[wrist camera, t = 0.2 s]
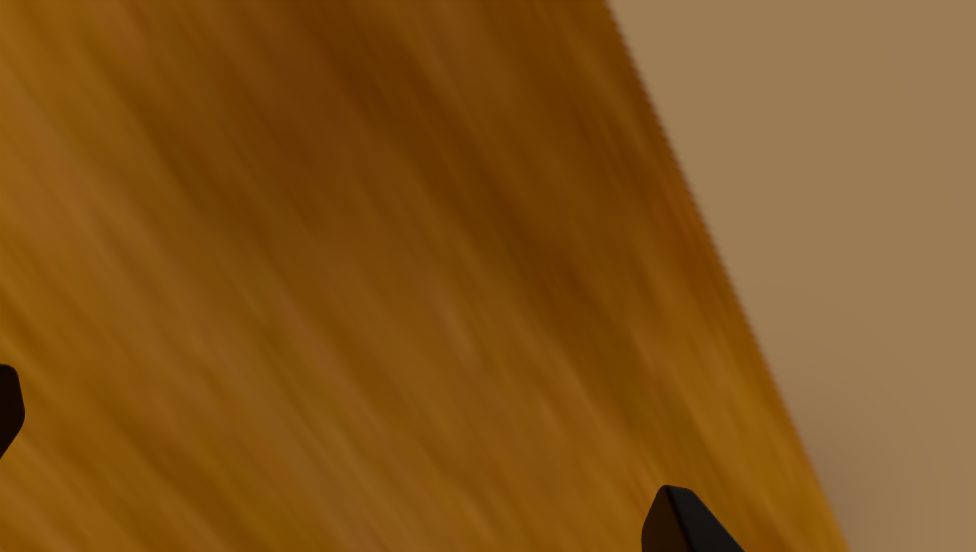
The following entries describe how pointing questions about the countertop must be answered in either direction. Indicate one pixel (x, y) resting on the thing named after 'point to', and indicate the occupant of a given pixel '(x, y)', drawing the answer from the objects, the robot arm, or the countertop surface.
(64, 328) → the countertop surface
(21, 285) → the countertop surface
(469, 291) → the countertop surface
